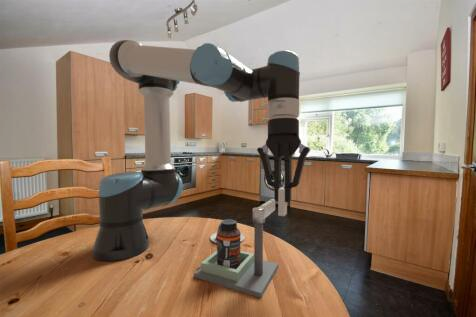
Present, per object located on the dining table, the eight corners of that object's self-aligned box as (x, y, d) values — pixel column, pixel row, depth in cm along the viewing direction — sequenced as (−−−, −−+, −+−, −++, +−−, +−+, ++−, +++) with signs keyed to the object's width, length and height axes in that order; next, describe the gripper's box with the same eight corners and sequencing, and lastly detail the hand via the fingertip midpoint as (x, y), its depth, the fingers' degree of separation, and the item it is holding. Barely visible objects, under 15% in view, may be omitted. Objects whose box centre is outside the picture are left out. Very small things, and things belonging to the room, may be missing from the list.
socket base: (193, 277, 52) (193, 222, 51) (221, 254, 63) (221, 209, 63) (261, 297, 44) (261, 234, 44) (278, 267, 56) (278, 217, 56)
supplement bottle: (231, 274, 51) (231, 227, 50) (212, 267, 54) (211, 222, 54) (244, 263, 56) (244, 220, 55) (226, 257, 59) (226, 216, 59)
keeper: (262, 224, 49) (262, 210, 49) (250, 222, 50) (250, 209, 50) (278, 210, 61) (278, 199, 61) (268, 208, 62) (268, 198, 62)
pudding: (222, 230, 83) (222, 217, 83) (250, 236, 77) (250, 222, 77) (203, 241, 73) (202, 226, 73) (233, 249, 67) (233, 232, 67)
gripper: (252, 118, 52) (252, 215, 53) (308, 114, 47) (307, 222, 47) (262, 122, 59) (262, 208, 60) (312, 119, 54) (311, 213, 54)
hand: (282, 214), depth 54 cm, fingers closed
